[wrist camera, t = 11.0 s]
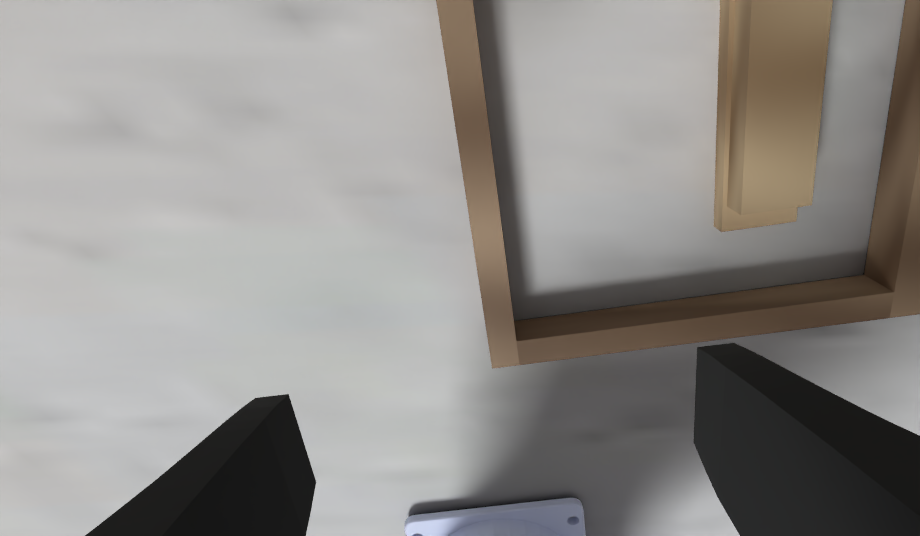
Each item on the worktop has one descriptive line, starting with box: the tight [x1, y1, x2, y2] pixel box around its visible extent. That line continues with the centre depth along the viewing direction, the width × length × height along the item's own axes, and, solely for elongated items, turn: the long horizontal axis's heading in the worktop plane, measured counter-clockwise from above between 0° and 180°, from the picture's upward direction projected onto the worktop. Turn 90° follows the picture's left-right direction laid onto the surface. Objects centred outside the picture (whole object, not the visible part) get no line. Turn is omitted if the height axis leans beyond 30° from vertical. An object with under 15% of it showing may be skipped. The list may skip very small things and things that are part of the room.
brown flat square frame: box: [436, 0, 920, 368], centre depth 17 cm, size 16×15×2 cm
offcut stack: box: [714, 0, 833, 232], centre depth 17 cm, size 8×2×2 cm, turn 9°
